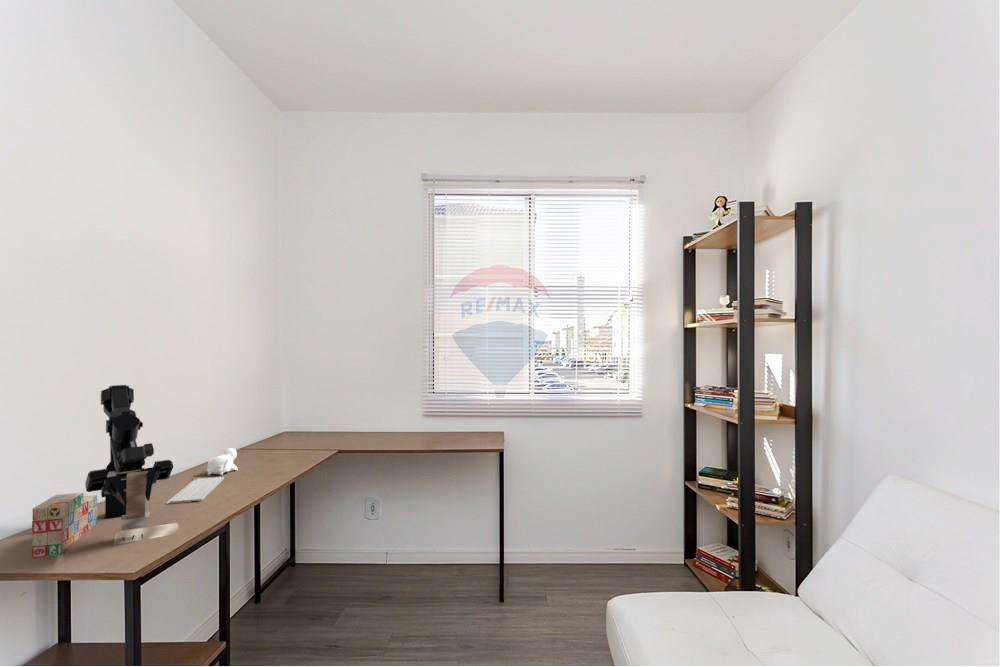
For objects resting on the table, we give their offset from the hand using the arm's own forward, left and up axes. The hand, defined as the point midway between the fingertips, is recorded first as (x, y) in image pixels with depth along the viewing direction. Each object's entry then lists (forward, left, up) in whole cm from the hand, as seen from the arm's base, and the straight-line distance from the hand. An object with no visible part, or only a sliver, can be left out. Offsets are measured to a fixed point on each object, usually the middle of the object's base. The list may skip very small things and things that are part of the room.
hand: (137, 502), depth 139 cm
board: (+2, +3, -10) cm, 11 cm away
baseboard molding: (+16, +50, -11) cm, 54 cm away
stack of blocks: (-15, +11, -11) cm, 22 cm away
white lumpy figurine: (+28, +76, -11) cm, 82 cm away
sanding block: (0, +1, -6) cm, 7 cm away
